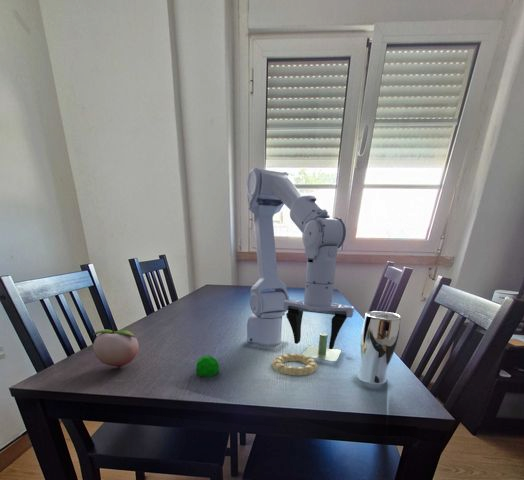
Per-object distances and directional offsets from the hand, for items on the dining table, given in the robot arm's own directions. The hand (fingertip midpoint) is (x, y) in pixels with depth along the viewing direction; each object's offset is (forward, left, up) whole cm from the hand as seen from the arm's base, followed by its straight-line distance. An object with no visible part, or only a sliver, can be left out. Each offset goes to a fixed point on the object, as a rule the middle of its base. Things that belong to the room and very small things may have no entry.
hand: (314, 345), depth 62 cm
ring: (-4, 0, -6) cm, 7 cm away
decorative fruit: (-41, -17, -7) cm, 45 cm away
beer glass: (+13, +1, -7) cm, 15 cm away
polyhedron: (-20, -12, -7) cm, 24 cm away
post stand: (0, +11, -7) cm, 13 cm away
